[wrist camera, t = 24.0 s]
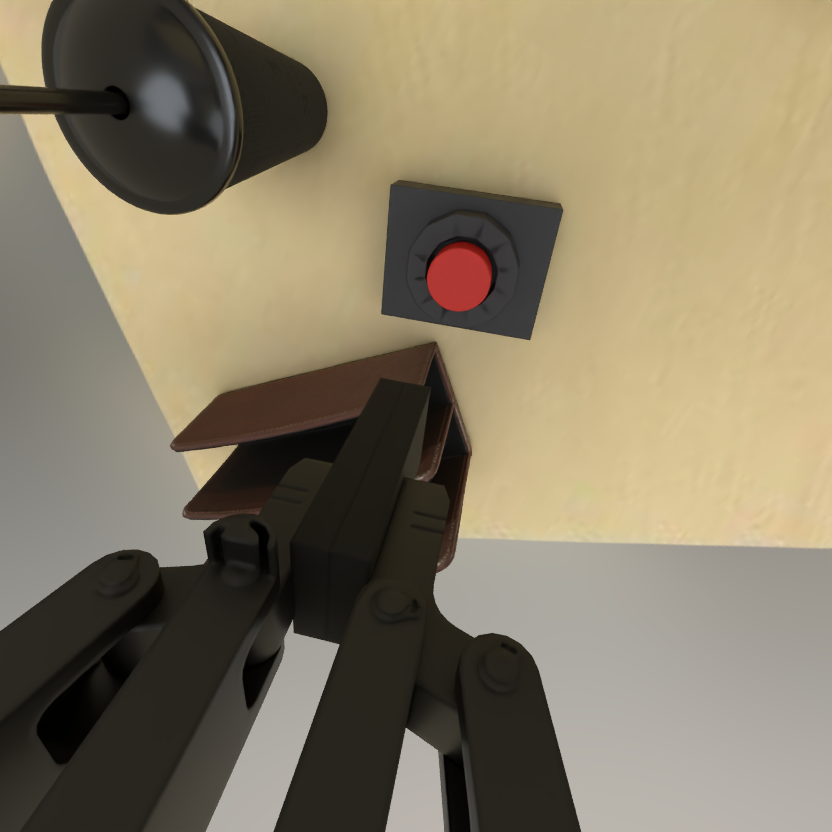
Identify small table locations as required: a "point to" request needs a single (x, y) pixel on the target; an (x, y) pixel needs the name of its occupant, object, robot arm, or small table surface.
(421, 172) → the small table surface
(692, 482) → the small table surface
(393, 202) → the button box
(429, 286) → the red button
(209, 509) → the letter holder
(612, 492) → the small table surface
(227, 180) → the drinking cup
